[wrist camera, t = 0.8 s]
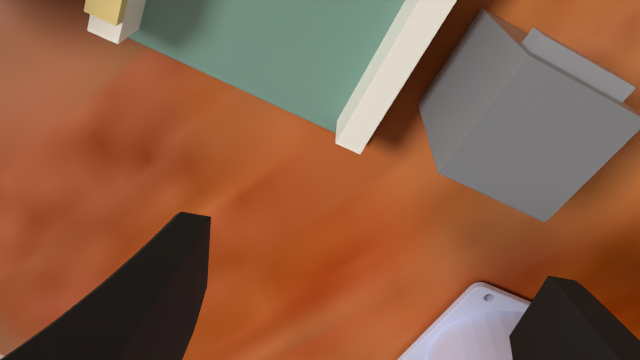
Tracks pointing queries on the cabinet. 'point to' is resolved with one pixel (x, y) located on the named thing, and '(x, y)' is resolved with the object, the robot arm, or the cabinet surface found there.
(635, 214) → the cabinet surface
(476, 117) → the plug
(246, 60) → the frame
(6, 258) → the cabinet surface
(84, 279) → the cabinet surface
